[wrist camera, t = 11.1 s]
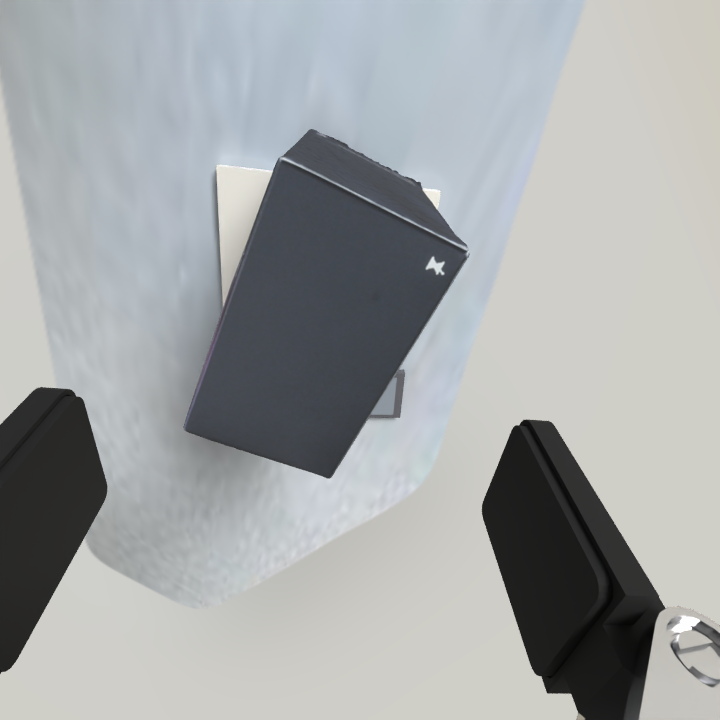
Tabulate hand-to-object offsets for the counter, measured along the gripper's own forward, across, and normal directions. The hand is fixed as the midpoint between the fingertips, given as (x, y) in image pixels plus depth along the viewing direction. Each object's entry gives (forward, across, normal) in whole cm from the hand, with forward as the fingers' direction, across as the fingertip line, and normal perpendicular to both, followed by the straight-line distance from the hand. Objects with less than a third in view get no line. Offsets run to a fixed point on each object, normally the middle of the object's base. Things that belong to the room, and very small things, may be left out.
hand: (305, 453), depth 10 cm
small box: (+16, 0, +1) cm, 16 cm away
